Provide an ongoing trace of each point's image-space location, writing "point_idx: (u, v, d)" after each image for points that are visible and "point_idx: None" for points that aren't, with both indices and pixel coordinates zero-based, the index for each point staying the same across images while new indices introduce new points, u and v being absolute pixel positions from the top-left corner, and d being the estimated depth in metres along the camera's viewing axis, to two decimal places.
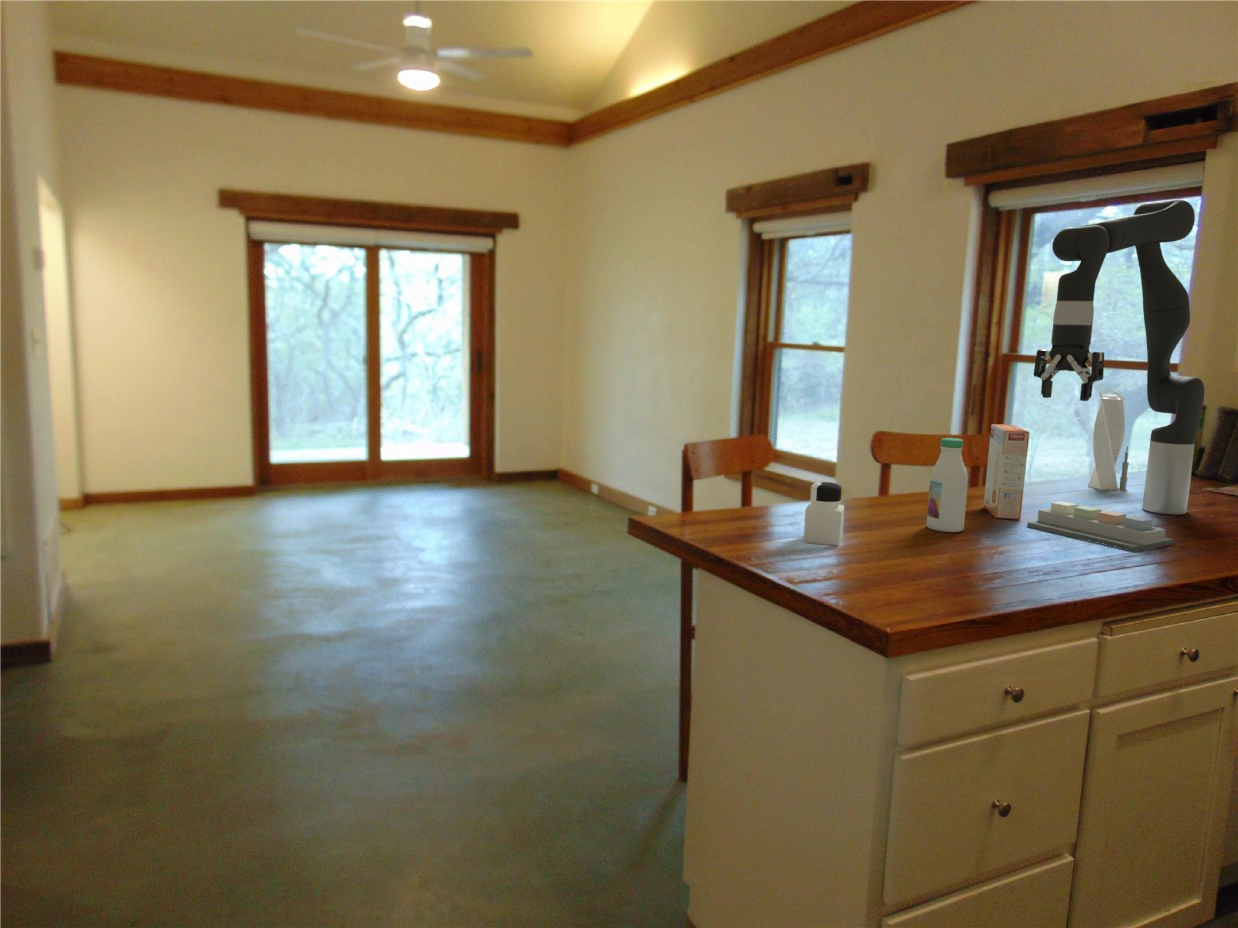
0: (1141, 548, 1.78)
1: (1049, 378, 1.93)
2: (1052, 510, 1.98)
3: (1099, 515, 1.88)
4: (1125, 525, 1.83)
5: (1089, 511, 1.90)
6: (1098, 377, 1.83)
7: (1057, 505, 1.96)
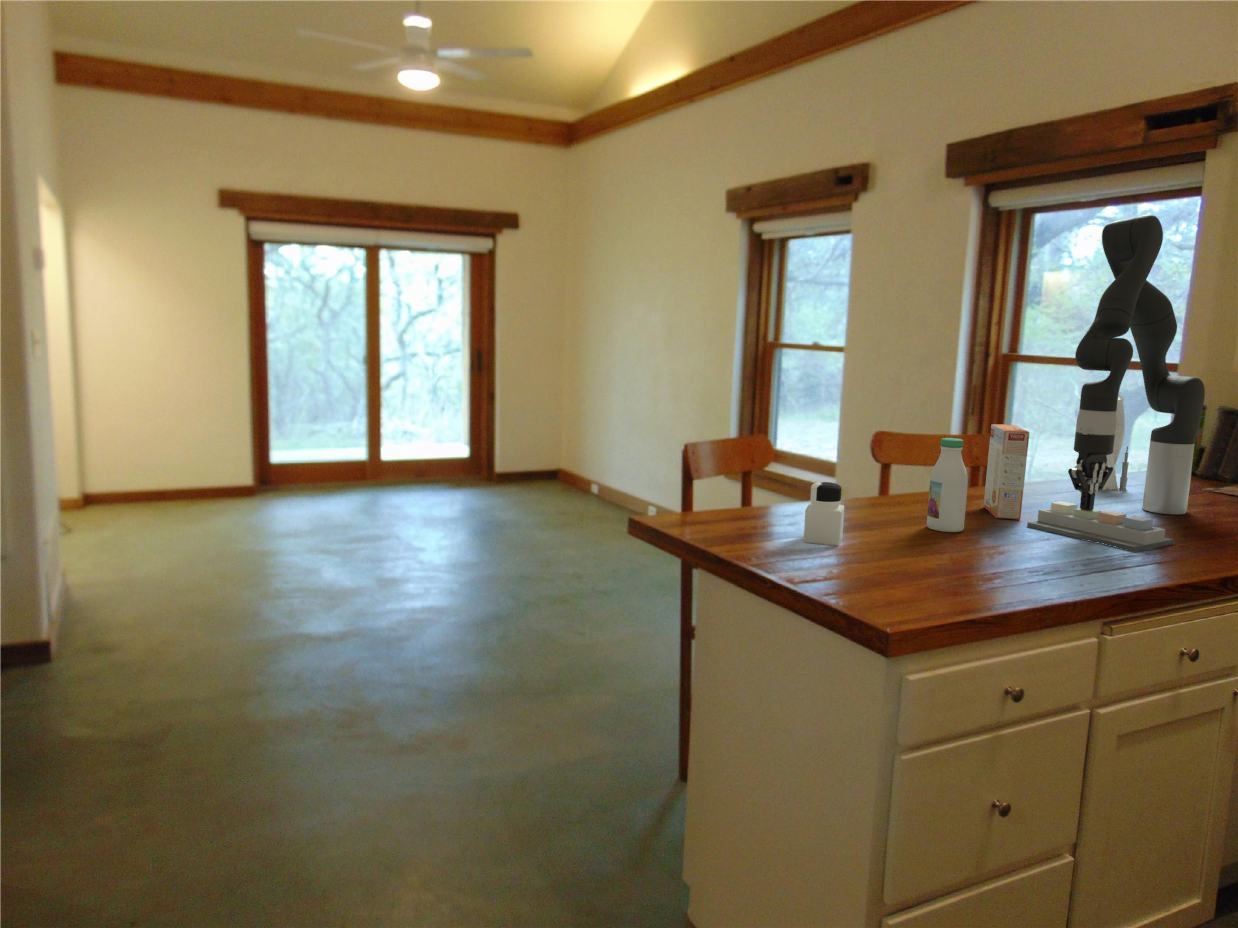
0: (1141, 548, 1.78)
1: None
2: (1052, 510, 1.98)
3: (1099, 515, 1.88)
4: (1125, 525, 1.83)
5: (1089, 513, 1.90)
6: None
7: (1057, 505, 1.96)
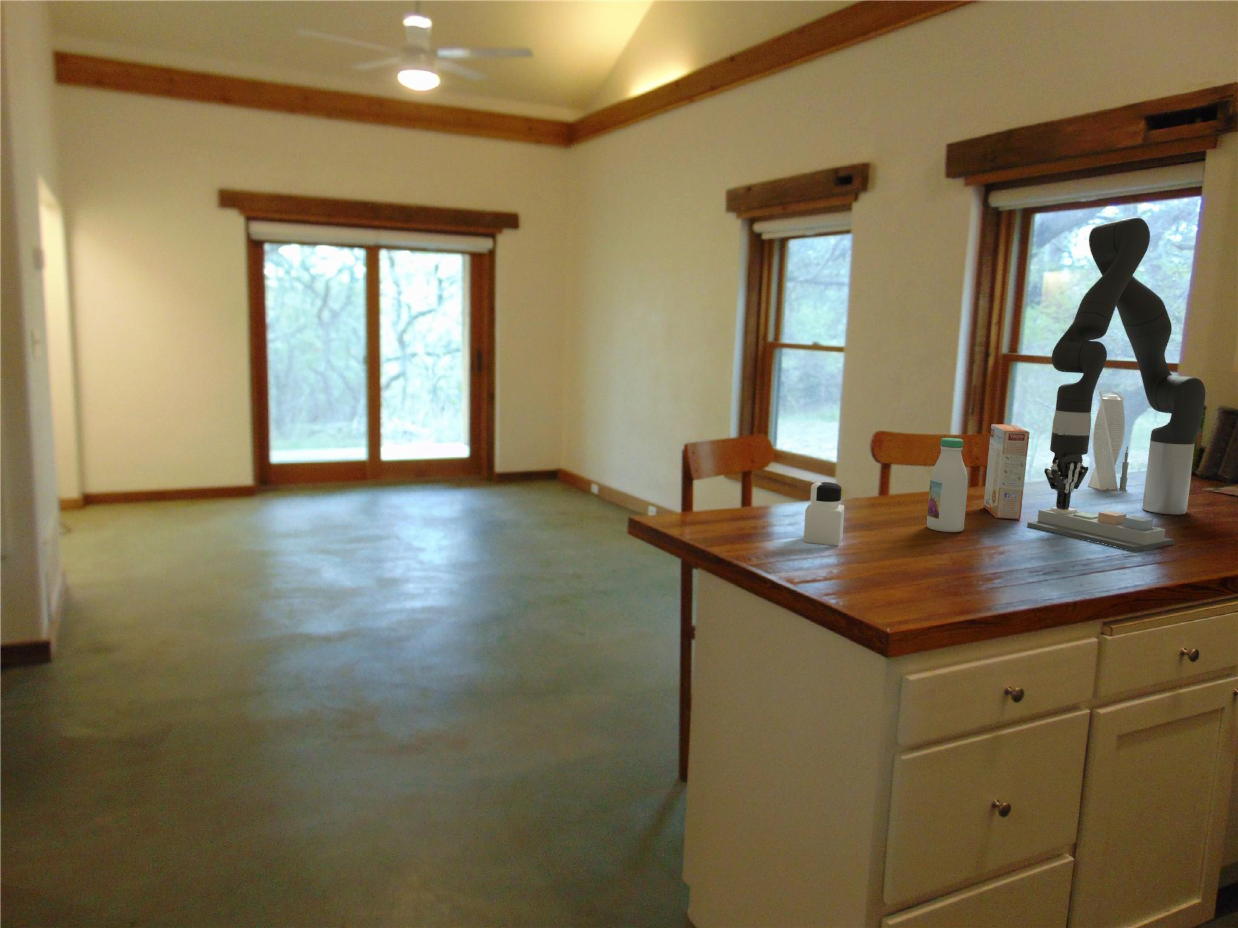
0: (1141, 548, 1.78)
1: None
2: None
3: (1099, 515, 1.88)
4: (1125, 525, 1.83)
5: (1088, 518, 1.90)
6: None
7: (1056, 510, 1.97)
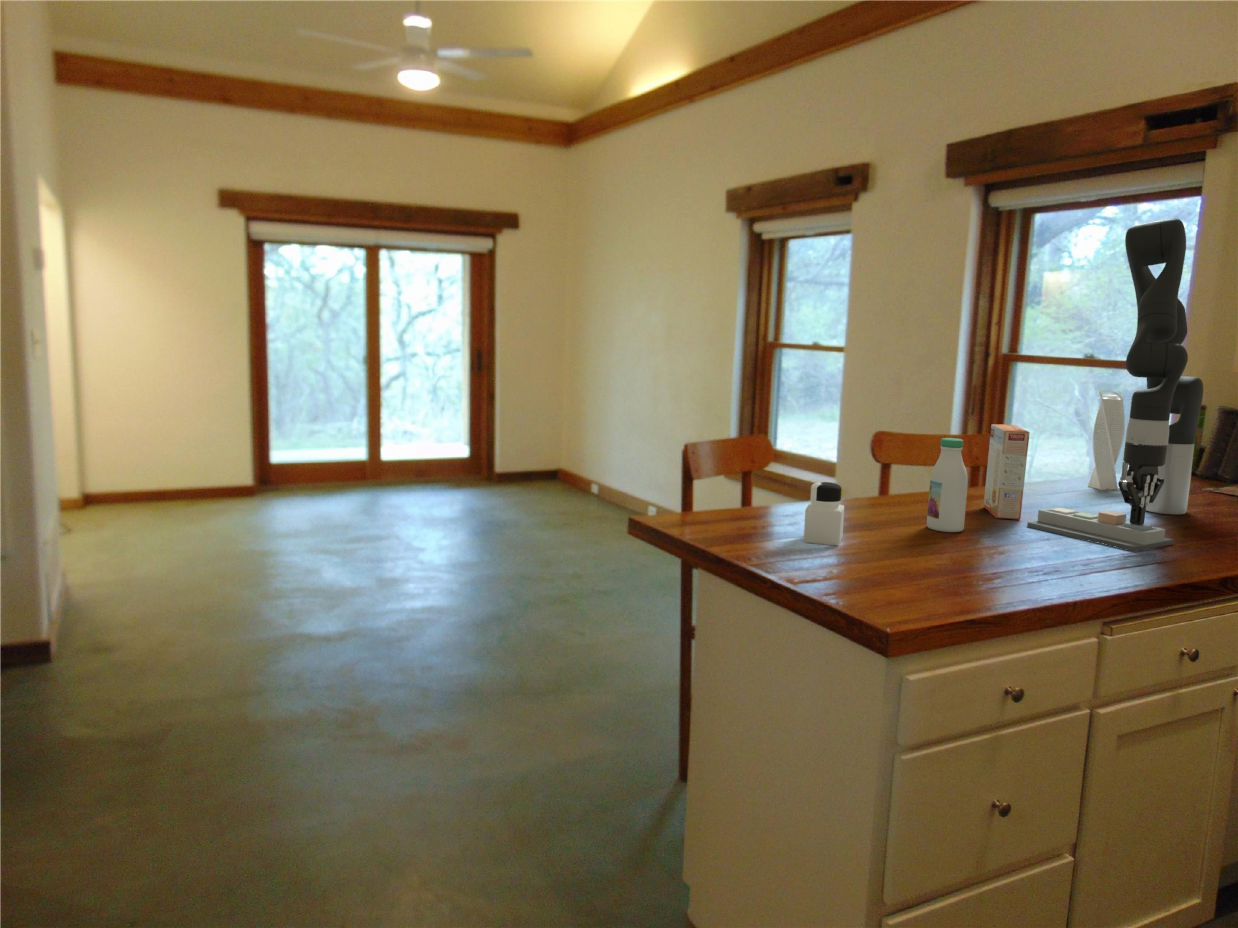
0: (1141, 548, 1.78)
1: None
2: None
3: (1099, 515, 1.88)
4: None
5: (1088, 518, 1.90)
6: None
7: (1056, 512, 1.97)
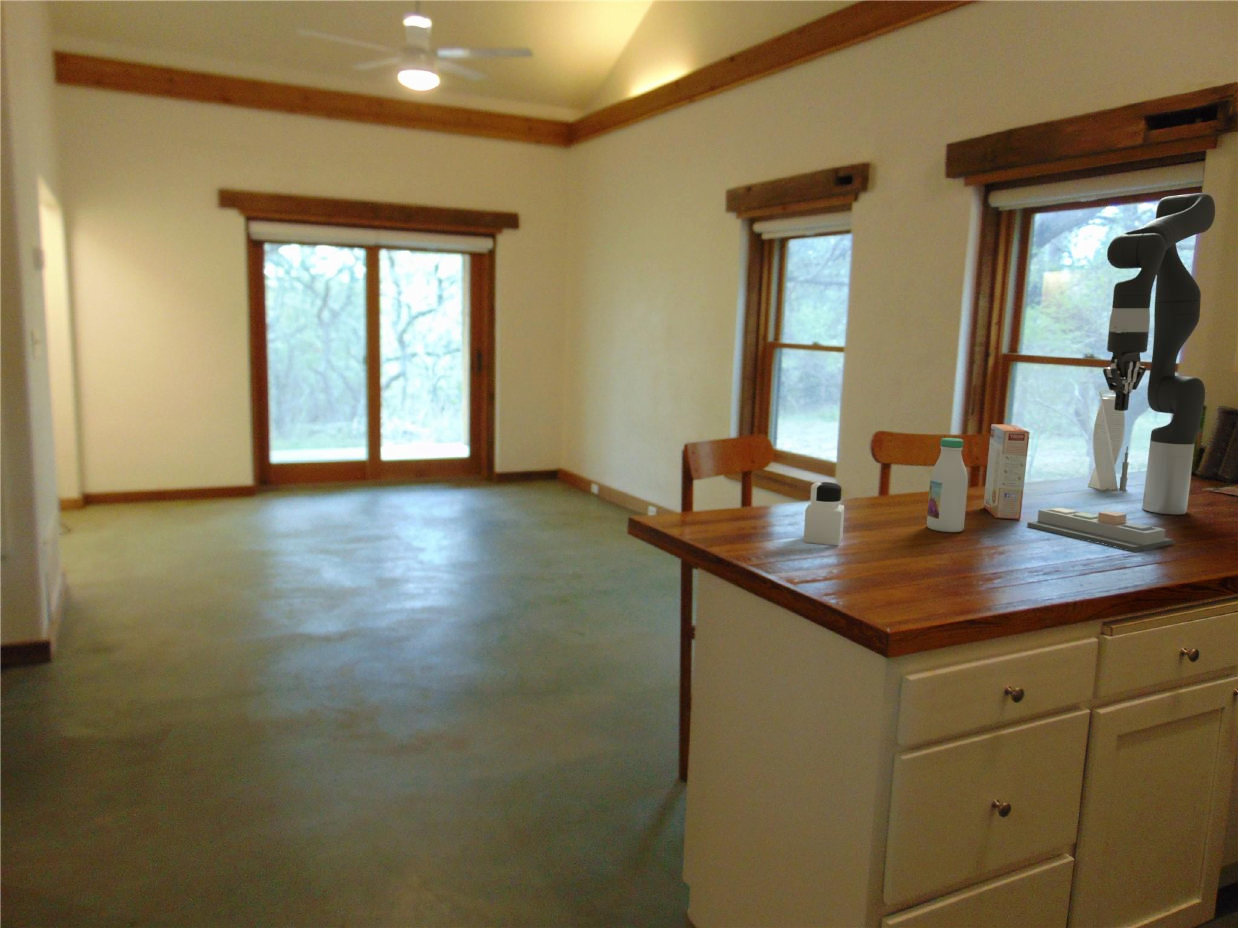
0: (1141, 548, 1.78)
1: None
2: None
3: (1099, 515, 1.88)
4: None
5: (1088, 518, 1.90)
6: None
7: (1056, 512, 1.97)
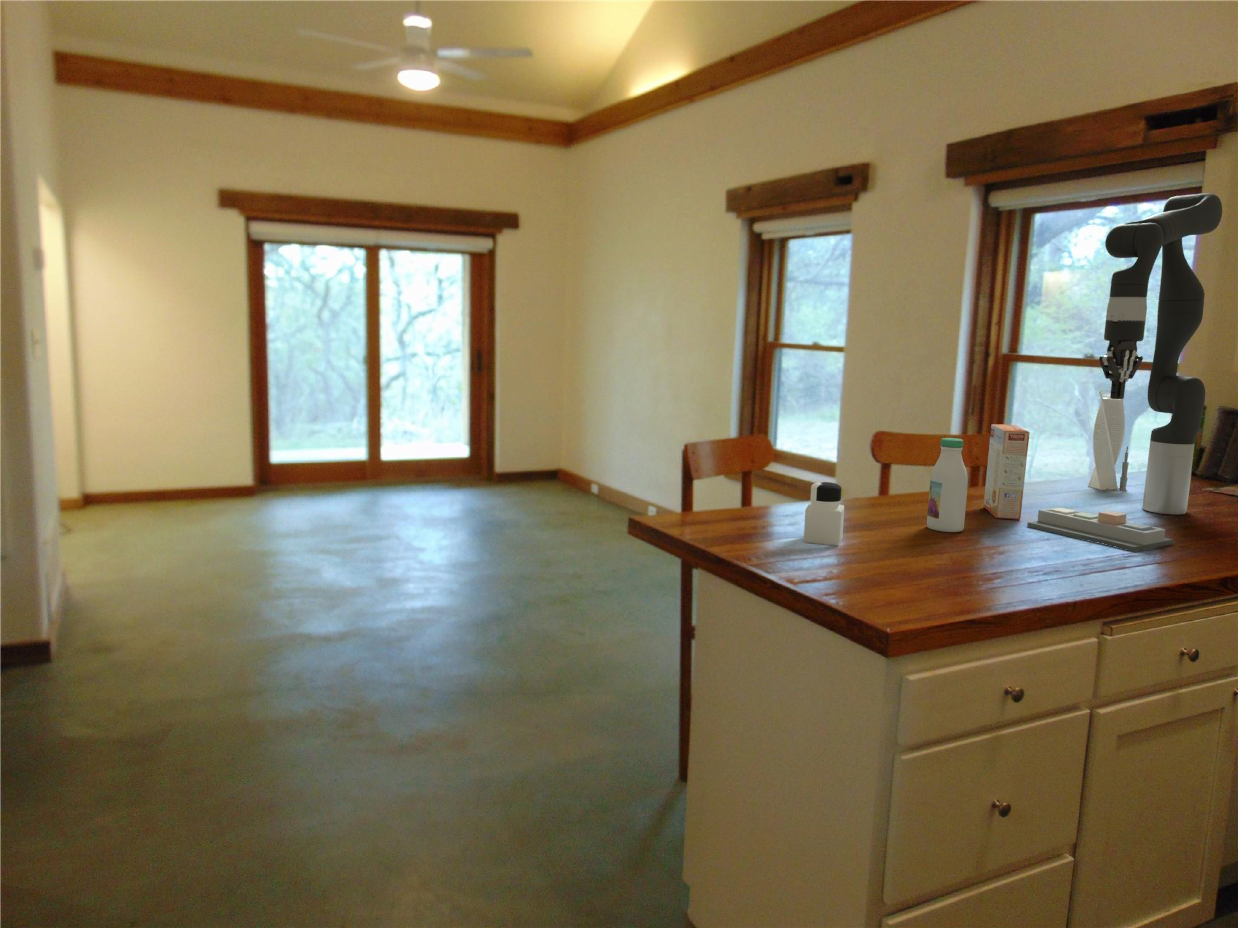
0: (1141, 548, 1.78)
1: None
2: None
3: (1099, 515, 1.88)
4: None
5: (1088, 518, 1.90)
6: None
7: (1056, 512, 1.97)
